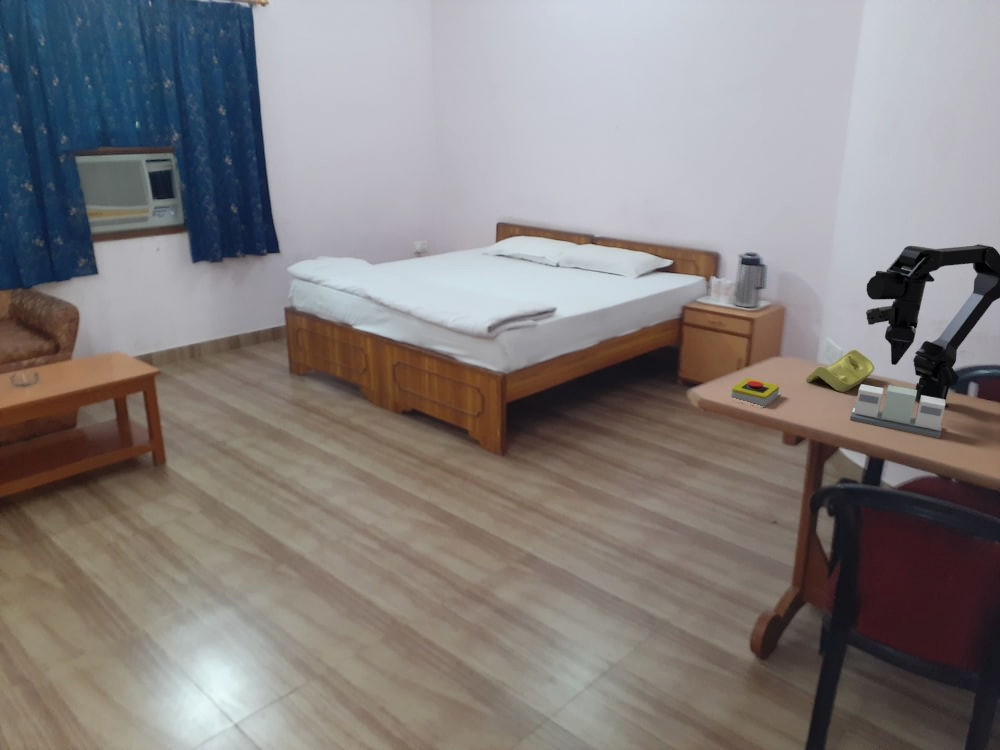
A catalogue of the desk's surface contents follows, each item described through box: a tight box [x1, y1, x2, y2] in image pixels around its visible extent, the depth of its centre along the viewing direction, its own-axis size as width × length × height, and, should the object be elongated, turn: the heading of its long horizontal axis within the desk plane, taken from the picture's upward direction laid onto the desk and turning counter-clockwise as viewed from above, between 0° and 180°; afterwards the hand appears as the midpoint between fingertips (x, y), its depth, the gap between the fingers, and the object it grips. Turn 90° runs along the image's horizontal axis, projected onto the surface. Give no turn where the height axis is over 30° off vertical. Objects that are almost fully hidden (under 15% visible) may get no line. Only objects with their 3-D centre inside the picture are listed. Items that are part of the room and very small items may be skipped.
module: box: [881, 384, 917, 424], centre depth 175 cm, size 6×5×7 cm
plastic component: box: [805, 349, 875, 393], centre depth 205 cm, size 20×7×10 cm
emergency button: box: [729, 378, 781, 409], centre depth 191 cm, size 9×4×15 cm
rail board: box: [849, 383, 946, 439], centre depth 175 cm, size 19×8×7 cm, turn 60°
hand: (895, 360), depth 185 cm, fingers open, 9 cm apart
